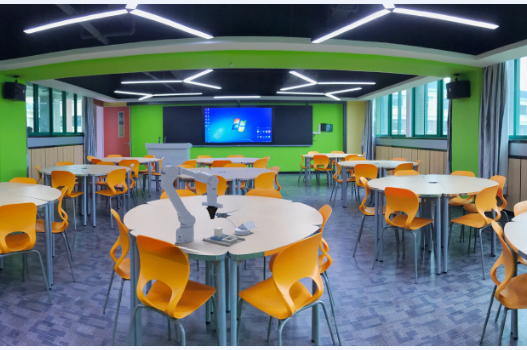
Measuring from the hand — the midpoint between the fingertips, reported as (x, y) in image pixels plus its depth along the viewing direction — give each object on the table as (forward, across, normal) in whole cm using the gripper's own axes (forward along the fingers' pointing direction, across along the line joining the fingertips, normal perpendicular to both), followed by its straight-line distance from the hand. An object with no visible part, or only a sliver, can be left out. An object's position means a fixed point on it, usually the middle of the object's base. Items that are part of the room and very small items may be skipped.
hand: (212, 218), depth 199 cm
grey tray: (+10, -12, +4) cm, 16 cm away
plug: (+9, -8, +4) cm, 13 cm away
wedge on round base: (+11, -12, -15) cm, 22 cm away
